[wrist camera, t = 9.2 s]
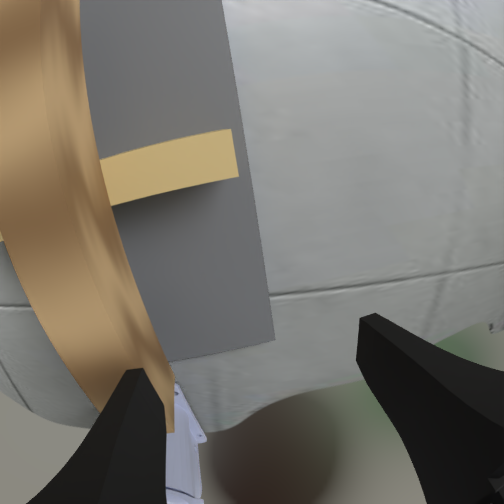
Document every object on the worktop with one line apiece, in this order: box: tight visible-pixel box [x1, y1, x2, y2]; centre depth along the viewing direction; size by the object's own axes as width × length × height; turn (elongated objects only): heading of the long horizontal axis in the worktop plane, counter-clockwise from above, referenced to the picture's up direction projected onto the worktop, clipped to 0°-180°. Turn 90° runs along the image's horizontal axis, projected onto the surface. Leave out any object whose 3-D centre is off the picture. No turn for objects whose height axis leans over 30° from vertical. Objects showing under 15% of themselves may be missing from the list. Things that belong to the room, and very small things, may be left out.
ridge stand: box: [0, 0, 275, 362], centre depth 13 cm, size 26×16×4 cm, turn 9°
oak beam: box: [0, 0, 175, 433], centre depth 9 cm, size 22×3×4 cm, turn 9°
